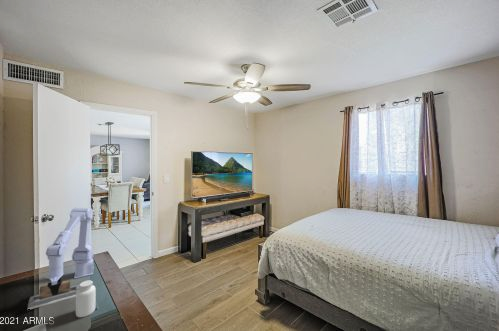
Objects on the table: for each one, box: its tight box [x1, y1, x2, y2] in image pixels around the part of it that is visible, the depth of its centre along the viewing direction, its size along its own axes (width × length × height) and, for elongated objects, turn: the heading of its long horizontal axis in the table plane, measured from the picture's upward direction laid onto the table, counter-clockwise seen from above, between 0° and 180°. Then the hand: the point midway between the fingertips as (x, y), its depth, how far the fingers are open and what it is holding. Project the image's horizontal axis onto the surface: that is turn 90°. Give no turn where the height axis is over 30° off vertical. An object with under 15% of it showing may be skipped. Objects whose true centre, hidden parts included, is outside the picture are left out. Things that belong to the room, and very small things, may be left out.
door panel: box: [38, 279, 71, 300], centre depth 114 cm, size 12×2×7 cm, turn 127°
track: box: [27, 283, 81, 310], centre depth 114 cm, size 20×8×3 cm, turn 128°
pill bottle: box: [75, 279, 97, 318], centre depth 106 cm, size 8×8×15 cm
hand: (55, 290), depth 114 cm, fingers open, 7 cm apart
